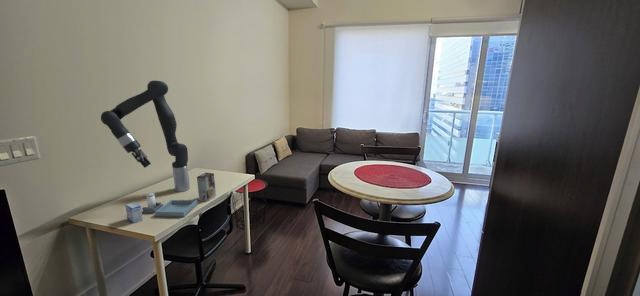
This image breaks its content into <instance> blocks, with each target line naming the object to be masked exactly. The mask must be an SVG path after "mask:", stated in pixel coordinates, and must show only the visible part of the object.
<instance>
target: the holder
mask: <svg viewBox="0 0 640 296" xmlns="http://www.w3.org/2000/svg"><path fill="white" fill-rule="evenodd" d="M155 202H156V201H155ZM162 206H164V203H162V202H159V201H157V202H156V208H155V209H154V207H148V206H143V207H141V210H142V214H155V211H157V210H158V209H160V208H161V207H162Z"/></svg>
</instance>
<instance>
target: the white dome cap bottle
mask: <svg viewBox="0 0 640 296" xmlns="http://www.w3.org/2000/svg"><path fill="white" fill-rule="evenodd" d="M145 196H146V202H147V207H154V209H155V208H156V195H155V192H148V193H146V195H145Z"/></svg>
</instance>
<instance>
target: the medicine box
mask: <svg viewBox="0 0 640 296" xmlns="http://www.w3.org/2000/svg"><path fill="white" fill-rule="evenodd" d="M125 211H126V218H127V221H130V222H132V223H133V224H137V223H138V222H139V223H140V222H141V221H143V211H142V206H141V205H140V204H137V203H136V202H130V203H128V204H125Z"/></svg>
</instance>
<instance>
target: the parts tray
mask: <svg viewBox="0 0 640 296" xmlns="http://www.w3.org/2000/svg"><path fill="white" fill-rule="evenodd" d="M197 206H198V200H197V199H196V200H193V199H170V200H169V201H168V202H166V203H165V204H163V206H162V207H161V208H160V209H158V210H157V211H155V213H154V214H155V217H162V218H165V217H166V218H167V217H168V218H185V217H186V216H187V215H189V214H190V213H191V212H192V211H193V210H194V209H195V208H196V207H197Z"/></svg>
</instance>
